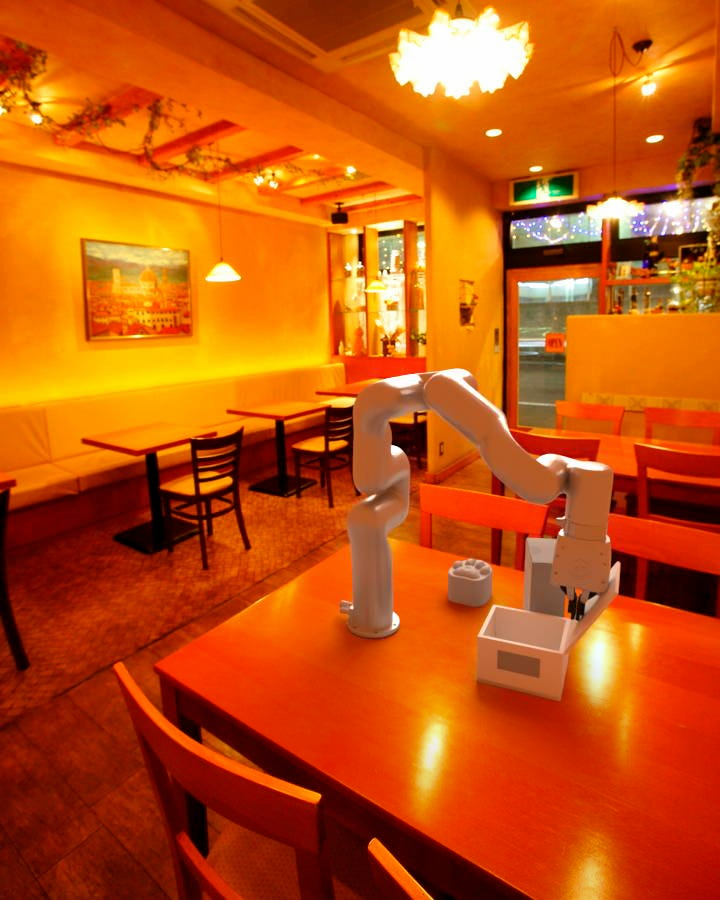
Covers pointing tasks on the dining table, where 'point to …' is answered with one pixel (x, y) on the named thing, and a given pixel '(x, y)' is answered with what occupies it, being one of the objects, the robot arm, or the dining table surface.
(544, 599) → the hard drive box
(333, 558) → the dining table surface
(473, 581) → the lumpy-topped squat cylinder
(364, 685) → the dining table surface
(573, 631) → the lid flap
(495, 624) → the carton
